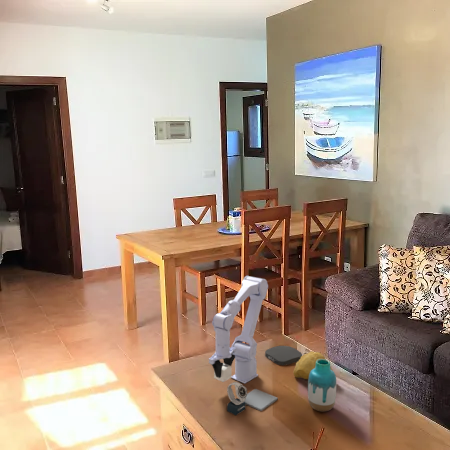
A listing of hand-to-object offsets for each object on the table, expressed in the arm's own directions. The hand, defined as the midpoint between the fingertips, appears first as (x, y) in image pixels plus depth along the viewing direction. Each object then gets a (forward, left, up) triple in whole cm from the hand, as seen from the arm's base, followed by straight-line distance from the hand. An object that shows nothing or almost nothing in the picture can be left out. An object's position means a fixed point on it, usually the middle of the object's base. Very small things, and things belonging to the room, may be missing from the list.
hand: (222, 374), depth 201 cm
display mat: (-4, +15, -8) cm, 17 cm away
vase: (-15, +37, -8) cm, 41 cm away
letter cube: (0, 0, -2) cm, 2 cm away
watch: (+7, +13, -8) cm, 17 cm away
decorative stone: (-33, +22, -8) cm, 40 cm away
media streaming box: (-43, +1, -8) cm, 44 cm away
